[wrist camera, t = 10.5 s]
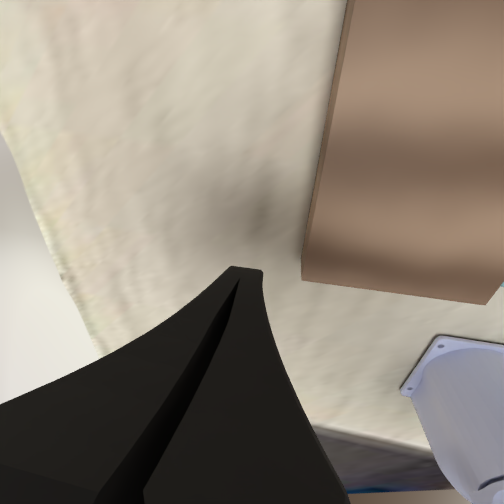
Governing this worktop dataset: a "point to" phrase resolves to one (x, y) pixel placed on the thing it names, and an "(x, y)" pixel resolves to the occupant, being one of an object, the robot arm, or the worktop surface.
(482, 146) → the walnut board
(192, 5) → the worktop surface
